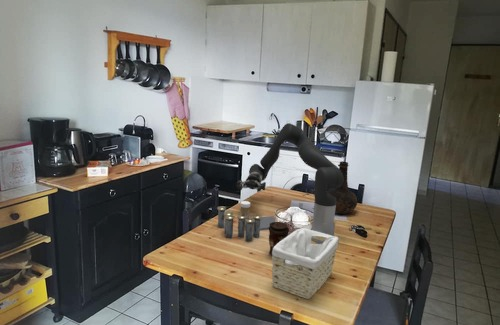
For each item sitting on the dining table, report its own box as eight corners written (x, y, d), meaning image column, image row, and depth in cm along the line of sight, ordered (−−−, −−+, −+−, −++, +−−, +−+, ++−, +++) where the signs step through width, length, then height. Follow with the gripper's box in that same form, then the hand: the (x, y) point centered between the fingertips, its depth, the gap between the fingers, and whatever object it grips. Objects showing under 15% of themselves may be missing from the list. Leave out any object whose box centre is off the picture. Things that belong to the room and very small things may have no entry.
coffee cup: (262, 251, 150) (264, 221, 148) (280, 248, 154) (282, 219, 151) (272, 261, 143) (274, 230, 140) (290, 258, 146) (293, 227, 143)
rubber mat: (284, 227, 176) (284, 225, 176) (259, 230, 171) (259, 228, 171) (272, 218, 188) (272, 216, 188) (249, 220, 183) (249, 218, 183)
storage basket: (296, 260, 144) (299, 225, 141) (336, 273, 136) (340, 236, 133) (267, 287, 124) (270, 247, 121) (312, 304, 116) (316, 262, 113)
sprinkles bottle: (246, 232, 168) (248, 204, 165) (237, 230, 170) (238, 202, 167) (250, 228, 172) (251, 201, 170) (241, 227, 174) (242, 200, 171)
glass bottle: (358, 209, 207) (364, 161, 201) (353, 219, 191) (359, 167, 185) (326, 204, 214) (331, 157, 208) (319, 213, 198) (324, 162, 192)
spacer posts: (264, 240, 161) (266, 220, 158) (229, 244, 155) (230, 223, 153) (247, 222, 180) (248, 204, 178) (215, 225, 174) (216, 206, 172)
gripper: (241, 172, 193) (235, 180, 178) (268, 174, 191) (264, 183, 176) (240, 185, 195) (234, 195, 179) (267, 188, 193) (263, 198, 177)
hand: (249, 189), depth 178 cm, fingers open, 8 cm apart
